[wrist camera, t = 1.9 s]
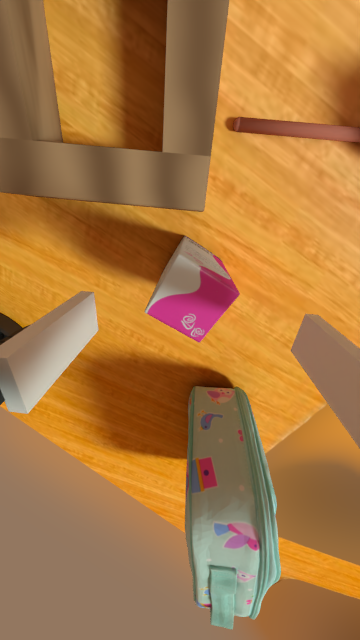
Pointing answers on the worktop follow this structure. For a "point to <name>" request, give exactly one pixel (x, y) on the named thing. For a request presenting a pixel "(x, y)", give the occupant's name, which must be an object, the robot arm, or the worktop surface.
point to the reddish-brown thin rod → (297, 129)
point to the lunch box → (228, 506)
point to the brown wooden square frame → (106, 162)
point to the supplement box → (192, 291)
